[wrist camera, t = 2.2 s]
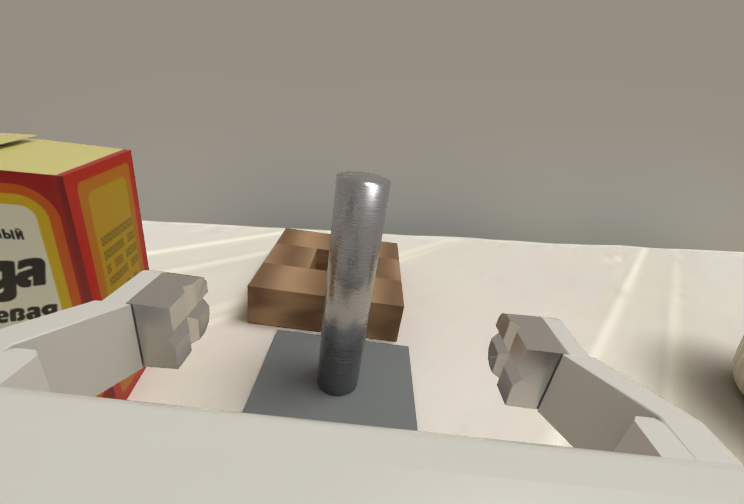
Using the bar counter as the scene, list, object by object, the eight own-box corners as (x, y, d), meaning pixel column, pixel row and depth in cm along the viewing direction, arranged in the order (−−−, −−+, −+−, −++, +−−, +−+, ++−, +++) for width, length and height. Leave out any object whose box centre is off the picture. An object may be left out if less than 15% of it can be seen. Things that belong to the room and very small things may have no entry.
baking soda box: (160, 344, 29) (129, 144, 22) (119, 411, 23) (60, 168, 16) (26, 341, 27) (-52, 123, 20) (-55, 413, 21) (-204, 141, 14)
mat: (236, 431, 23) (236, 427, 22) (277, 333, 32) (277, 329, 32) (418, 452, 23) (419, 448, 23) (407, 349, 32) (408, 346, 32)
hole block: (248, 322, 32) (247, 285, 31) (285, 256, 45) (286, 228, 43) (396, 341, 33) (403, 306, 31) (391, 271, 46) (397, 243, 44)
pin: (313, 393, 26) (333, 181, 19) (320, 362, 29) (339, 169, 22) (356, 398, 26) (391, 189, 19) (358, 367, 29) (390, 176, 22)
